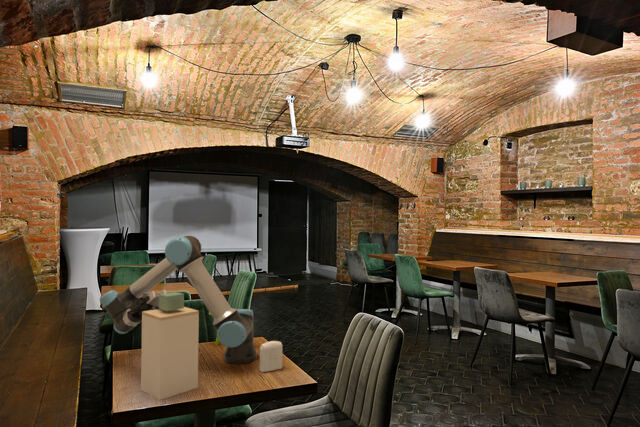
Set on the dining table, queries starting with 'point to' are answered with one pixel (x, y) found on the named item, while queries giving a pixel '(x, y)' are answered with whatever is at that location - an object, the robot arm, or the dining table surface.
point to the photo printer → (270, 356)
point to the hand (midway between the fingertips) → (159, 293)
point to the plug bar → (167, 300)
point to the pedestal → (169, 352)
